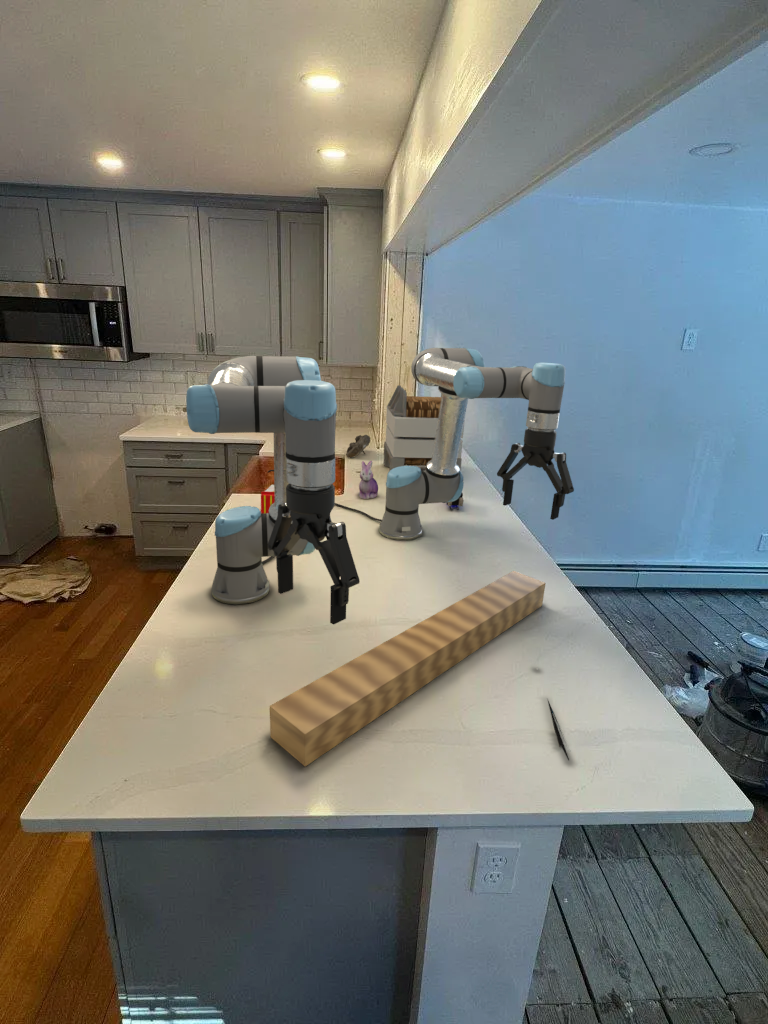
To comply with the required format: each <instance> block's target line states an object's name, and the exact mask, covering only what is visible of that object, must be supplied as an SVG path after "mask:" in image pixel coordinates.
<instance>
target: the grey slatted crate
mask: <svg viewBox="0 0 768 1024" xmlns="http://www.w3.org/2000/svg"><path fill="white" fill-rule="evenodd" d="M407 394H408V393H407V390H406V389H404V388H403V387H402V385H399V384H398V385H397V386H396V388H395V390H394V392H393V394H392V395H391V398H390V400H389V402H388V404H387V405H386V413H385V414H386V415H385V423H386V428H385V438H384V442H383V466H384V467H388V468H389V471H390V470H392V469H393V468H396V467H400V466H416V467H426V465H427V463H428V462H429V461H430V460H432V454H433V448H434V442H435V436H436V429H437V423H438V417H439V411H440V404H441V398H442V394H441V393H440V396H415V395H414V396H413V395H412V396H411V395H407ZM464 422H465V419H464ZM464 429H465V423H464V424H463V430H462V435H461V441H460V446H459V452H458V457H457V462H456V464H457V465H458V466H459V469H460V471H461V472H462V461H463V460H462V453H463V442H464V441H463V440H462V439H463V438H464V431H465V430H464Z"/></svg>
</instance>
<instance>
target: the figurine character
mask: <svg viewBox="0 0 768 1024" xmlns="http://www.w3.org/2000/svg"><path fill="white" fill-rule="evenodd" d="M463 496H464V493H463V492H462V493H461V495H460V497H459V498H458V499H457V500H455V501H453V502H447V503H446V505H447V506H448V507H449V510H450V511H452V510H453V509H452V508H456V510H457V511H459V510H460V508H459V507H463V505H464V498H463Z"/></svg>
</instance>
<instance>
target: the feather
mask: <svg viewBox="0 0 768 1024" xmlns="http://www.w3.org/2000/svg"><path fill="white" fill-rule="evenodd" d="M536 670H539V668H536ZM546 699H547V703H548V708H549V712H550V715H551V720H552V725H553V728H554V731H555V736H556V739H557V742H558V746H559V748H562V750H563V752H564V754H565V756H566V758H567V760H568V761H570V758H569V756H568V752H570V749H569V745H568V744H567V740H566V737H565V736H561V734H564V732H563V731H562V729H561V726H560V723H559V721H558V719H557V717H556V714H555V712H554V710H553V708H552V705H551V703H550V701H549V698H546ZM560 732H561V733H560ZM562 737H563V738H562ZM563 739H564V742H563ZM564 743H565V744H567V746H566V747H567V749H568V752H567V750H566V747H565V745H564Z"/></svg>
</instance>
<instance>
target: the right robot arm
mask: <svg viewBox="0 0 768 1024" xmlns="http://www.w3.org/2000/svg"><path fill="white" fill-rule="evenodd" d="M410 367H411V368H410V369H411V375H412V377H413V378H414V380H415V381H416V382H417V383H418V384H420V385H423V386H426V387H437V390H438V391H439V393H440V395H441V394H442V398H441V404H440V411H439V417H438V423H437V429H436V436H435V442H434V448H433V454H432V460H430V461H429V462H428V463H427V465H426V466H425V470H422V469H421V467H420V466H407V465H404V466H400V467H396V468H393V469H392V470H390V469H389V470H388V472H387V475H386V482H385V504H384V505H385V507H384V508H385V509H384V513H383V515H382V519H381V518H376V517H373V516H371V515H370V514H369V513H366V512H364V511H363V510H359V509H356V508H352V507H349V506H346V505H342V504H340V503H338V502H337V503H336V502H335V505H334V506H337V507H340V508H343V509H346V510H349V511H354V512H355V513H359V514H362V515H364V516H365V517H367V518H369V519H371V520H373V521H377V522H379V526H378V533H379V534H380V535H381V536H382V537H385V538H387V539H389V540H395V541H410V540H415V539H418V538H420V537H421V536H422V535H423V525H422V524H421V518H420V515H419V507H420V505H428V504H441V503H442V504H447V502H453V501H455V500H457V499H458V498H459V497H460V495H461V493H463V490H464V486H465V485H464V483H465V482H464V475H463V473H462V470H461V471H460V469H459V466H458V465H457V464H456V462H457V457H458V452H459V446H460V441H461V440H462V438H461V435H462V430H463V424H464V425H465V421H464V420H465V418H466V413H467V408H468V403H469V400H474V399H523V400H526V401H528V405H527V413H526V420H525V426H526V428H525V429H524V434H523V435H524V436H523V445H522V444H521V443H520V442H516V443H513V444H511V446H510V451H509V453H508V454H507V457H506V458H505V459H504V461H503V463H502V464H501V466H500V468H499V469H498V470H497V472H496V475H497V477H500V478H501V479H502V485H501V486H502V487H501V491H502V492H503V502H502V506H508V505H511V504H512V498H513V489H514V482H515V480H514V479H513V478H514V476H515V475H517V473H518V472H519V471H521V470H522V469H523V468H524V467H525V466H527V465H528V466H531V467H533V466H534V467H536V468H542V470H543V471H544V472H545V473H546V475H547V477H548V479H549V481H550V482H551V484H552V486H553V487H554V489H555V491H556V492H555V493H553V498H552V503H551V511H550V518H549V520H556V519H558V518H559V515H560V510H561V509H560V508H562V507H563V506H564V505H565V499H566V495H570V494H571V493H574V491H575V488H574V485H573V481H572V478H571V474H570V471H569V467H568V464H567V453H566V452H564V451H563V452H555V446H556V441H557V436H558V435H557V434H558V432H557V429H559V420H560V413H561V412H560V411H561V408H562V407H561V406H562V401H563V396H564V395H563V394H564V389H565V385H566V379H565V378H566V370H567V369H566V367H565V365H564V364H561V363H554V362H536V363H534V365H533V368H530V367H527V366H524V365H521V366H520V365H519V366H518V365H514V366H512V367H511V366H510V367H509V366H508V367H505V366H504V367H501V366H499V367H498V366H497V367H493V366H492V367H490V366H486V363H485V361H484V358H483V356H482V354H481V352H480V351H479V350H477V349H474V348H467V347H429V348H426V349H424V350H421V351H420V352H419V353H417V354H416V355H415V357H414V358H413V360H412V362H411V366H410ZM520 453H522V456H523V457H522V458H520V460H518V462H517V463H515V464H514V466H513V467H512V468H511V466H512V465H513V463H514V462H515V460H516V458H517V457H518V456H519V454H520ZM553 459H554V461H555V462H556V468H557V469H556V468H555V464H554V462H553V461H552V460H553ZM510 468H511V469H510ZM557 470H558V472H557ZM270 472H273V473H274V469H269V470H267V474H268V473H270Z"/></svg>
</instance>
